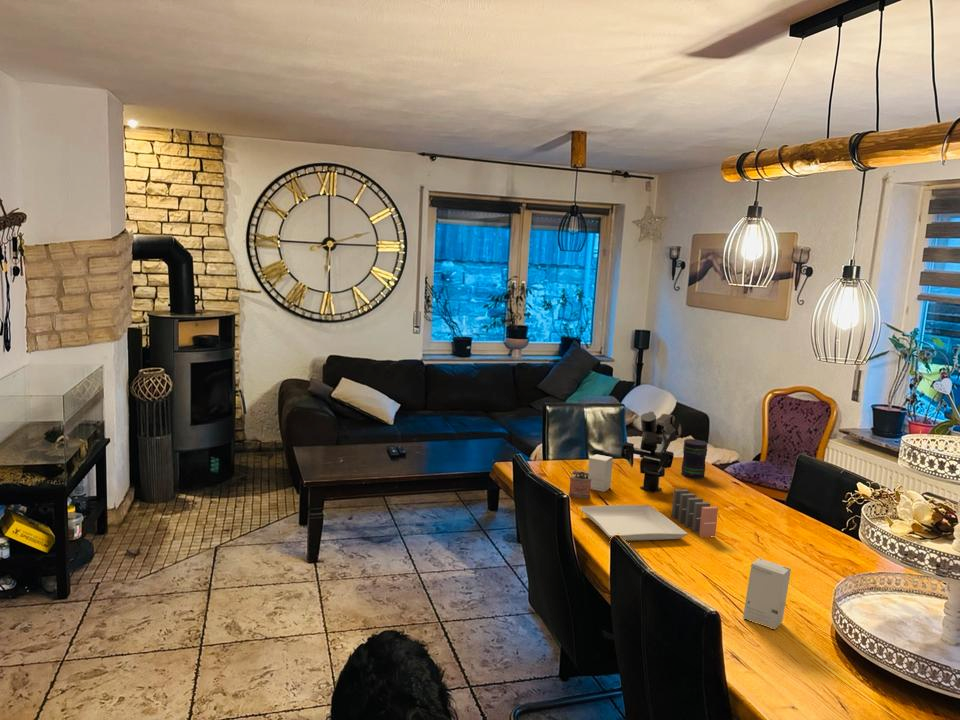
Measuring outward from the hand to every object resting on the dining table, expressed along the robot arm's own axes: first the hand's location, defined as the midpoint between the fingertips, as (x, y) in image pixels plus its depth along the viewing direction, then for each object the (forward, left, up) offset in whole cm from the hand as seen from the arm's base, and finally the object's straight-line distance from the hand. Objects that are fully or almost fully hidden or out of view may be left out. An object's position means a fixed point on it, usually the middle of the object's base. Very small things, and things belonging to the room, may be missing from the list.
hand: (644, 469), depth 257 cm
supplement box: (-6, -23, -15) cm, 28 cm away
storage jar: (-56, -10, -15) cm, 58 cm away
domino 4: (+5, +26, -14) cm, 30 cm away
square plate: (+21, +10, -15) cm, 28 cm away
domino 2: (0, +18, -14) cm, 23 cm away
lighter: (+9, -21, -15) cm, 27 cm away
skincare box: (+49, +68, -15) cm, 85 cm away
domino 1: (-2, +14, -14) cm, 20 cm away
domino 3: (+3, +22, -14) cm, 26 cm away
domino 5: (+7, +30, -14) cm, 34 cm away
